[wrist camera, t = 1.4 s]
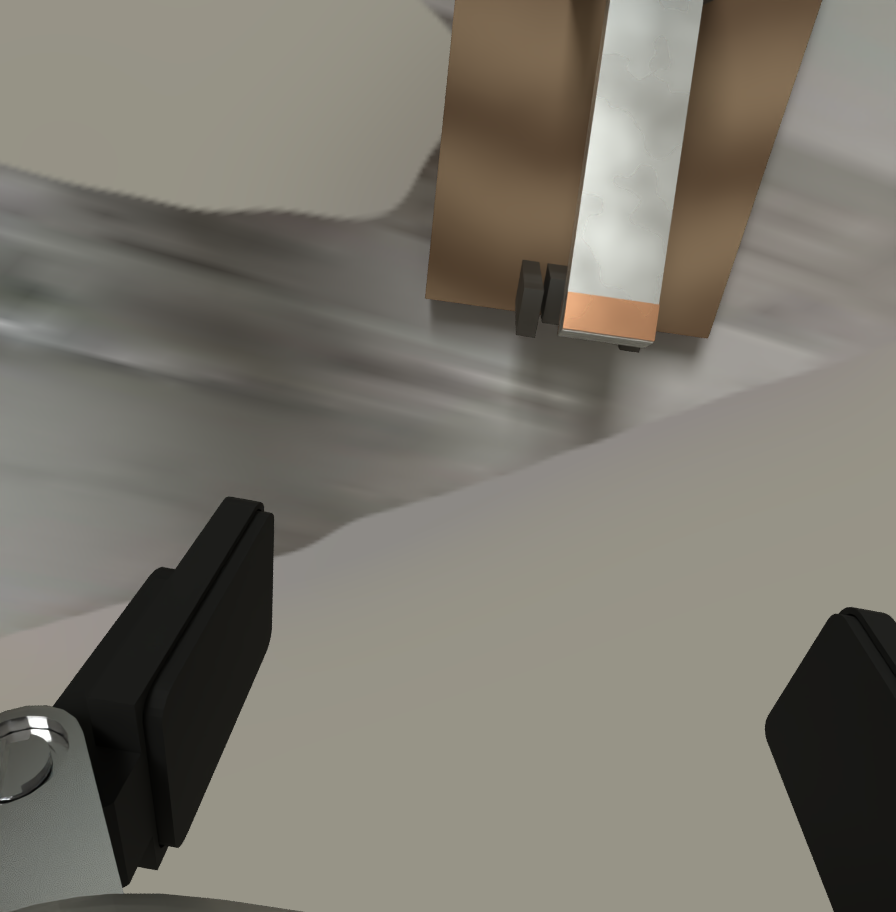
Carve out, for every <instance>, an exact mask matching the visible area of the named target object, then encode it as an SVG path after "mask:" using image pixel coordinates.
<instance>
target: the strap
mask: <svg viewBox="0 0 896 912" xmlns="http://www.w3.org/2000/svg"><path fill="white" fill-rule="evenodd" d="M702 6H703V0H606V6H605V13H604V20H603V27H602V33H601V40H600V47H599V54H598V61H597V68H596V75H595V81H594V88H593V95H592V102H591V109H590V116H589V123H588V129H587V136H586V143H585V150H584V157H583V164H582V171H581V177H580V184H579V191H578V198H577V205H576V212H575V219H574V226H573V232H572V239H571V246H570V253H569V260H568V267H567V274H566V280H565V287H564V294H563V300H562V305H561V312H560V319H559V326H558V333H557V336H562V337H569V338H577V339H584V340H591V341H598V342H605V343H612V344H619V345H626V346H633V347H640V348H645V347H647V346H649V345H651V344H652V343H653V341H654V340H655V334H656V327H657V320H658V313H659V306H660V304H659V300H660V294H661V287H662V280H663V273H664V266H665V259H666V252H667V246H668V239H669V232H670V225H671V218H672V211H673V205H674V198H675V191H676V184H677V177H678V170H679V164H680V157H681V150H682V143H683V136H684V129H685V122H686V116H687V109H688V102H689V95H690V88H691V81H692V75H693V68H694V61H695V54H696V47H697V40H698V34H699V27H700V20H701V13H702Z"/></svg>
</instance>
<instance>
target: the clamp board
mask: <svg viewBox="0 0 896 912" xmlns="http://www.w3.org/2000/svg"><path fill="white" fill-rule="evenodd" d="M821 2H822V0H703V6H702V13H701V20H700V27H699V34H698V40H697V47H696V54H695V61H694V68H693V75H692V81H691V88H690V95H689V102H688V109H687V116H686V122H685V129H684V136H683V143H682V150H681V157H680V164H679V170H678V177H677V184H676V191H675V198H674V205H673V211H672V218H671V225H670V232H669V239H668V246H667V252H666V259H665V266H664V273H663V280H662V287H661V294H660V300H659V304H660V306H659V313H658V320H657V327H656V331H658V332H665V333H672V334H680V335H687V336H694V337H701V338H708V337H709V334H710V331H711V328H712V325H713V322H714V319H715V316H716V313H717V310H718V307H719V304H720V301H721V298H722V295H723V292H724V289H725V287H726V284H727V281H728V278H729V275H730V272H731V269H732V266H733V263H734V260H735V257H736V254H737V251H738V248H739V245H740V242H741V239H742V236H743V233H744V230H745V227H746V224H747V221H748V218H749V215H750V213H751V210H752V207H753V204H754V201H755V198H756V195H757V192H758V189H759V186H760V183H761V180H762V177H763V174H764V171H765V168H766V165H767V162H768V159H769V156H770V153H771V150H772V147H773V144H774V141H775V138H776V136H777V133H778V130H779V127H780V124H781V121H782V118H783V115H784V112H785V109H786V106H787V103H788V100H789V97H790V94H791V91H792V88H793V85H794V82H795V79H796V76H797V73H798V70H799V67H800V64H801V62H802V59H803V56H804V53H805V50H806V47H807V44H808V41H809V38H810V35H811V32H812V29H813V26H814V23H815V20H816V17H817V14H818V11H819V8H820V5H821ZM605 6H606V0H455V7H454V17H453V27H452V37H451V47H450V57H449V67H448V76H447V86H446V96H445V106H444V116H443V126H442V136H441V146H440V156H439V166H438V175H437V185H436V195H435V205H434V215H433V225H432V235H431V245H430V255H429V264H428V274H427V284H426V294H425V298H426V299H433V300H440V301H447V302H454V303H461V304H468V305H475V306H482V307H489V308H496V309H503V310H510V311H515V312H516V335H519V336H526V337H533V338H535V334H536V329H537V324H538V319H539V315H541V318H542V323H549V324H556V325H559V319H560V312H561V305H562V300H563V294H564V287H565V280H566V274H567V267H568V260H569V253H570V246H571V239H572V232H573V226H574V219H575V212H576V205H577V198H578V191H579V184H580V177H581V171H582V164H583V157H584V150H585V143H586V136H587V129H588V123H589V116H590V109H591V102H592V95H593V88H594V81H595V75H596V68H597V61H598V54H599V47H600V40H601V33H602V27H603V20H604V13H605ZM618 346H619V349H620V350H624V351H631V352H638V353H639V350H640V347H633V346H626V345H619V344H618Z"/></svg>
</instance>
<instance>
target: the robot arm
mask: <svg viewBox="0 0 896 912" xmlns="http://www.w3.org/2000/svg"><path fill="white" fill-rule="evenodd" d="M273 551H274V515H273V514H272V513H268V512H264V506H263V503H261V502H257V501H251V500H246V499H240V498H234V497H226V498H225V499H224V500H223V502H222V503H221V505H220V506H219V507H218V509H217V510H216V512H215V513H214V515H213V516H212V517H211V519H210V520H209V522H208V523H207V525H206V526H205V527H204V529H203V530H202V532H201V533H200V535H199V536H198V537H197V539H196V540H195V542H194V543H193V545H192V546H191V547H190V549H189V550H188V552H187V553H186V555H185V556H184V557H183V559H182V560H181V562H180V563H179V565H178V566H177V567H176V569H170V568H165V567H160V568H158V569H156V570H155V571H154V572H153V573H152V574H151V575H150V576H149V577H148V579H147V580H146V581H145V583H144V584H143V586H142V587H141V588H140V590H139V591H138V592H137V594H136V595H135V596H134V598H133V599H132V600H131V602H130V603H129V604H128V606H127V607H126V609H125V610H124V611H123V613H122V614H121V615H120V617H119V618H118V619H117V621H116V622H115V623H114V625H113V626H112V627H111V629H110V630H109V631H108V633H107V634H106V636H105V637H104V638H103V639H102V641H101V642H100V644H99V645H98V646H97V648H96V649H95V650H94V652H93V653H92V654H91V656H90V657H89V658H88V660H87V661H86V662H85V664H84V665H83V666H82V668H81V669H80V670H79V672H78V673H77V674H76V676H75V677H74V679H73V680H72V681H71V683H70V684H69V685H68V687H67V688H66V689H65V691H64V692H63V693H62V695H61V696H60V697H59V699H58V700H57V701H56V703H55V704H54V705H53V707H51V706H47V705H44V706H24V707H20V708H16V709H12V710H7V711H4V712H2V713H0V912H301V911H295V910H288V909H282V908H275V907H268V906H262V905H254V904H248V903H242V902H235V901H228V900H221V899H210V898H200V897H190V896H179V895H169V894H124V893H123V889H122V888H123V887H125V886H127V885H128V884H129V883H130V882H131V879H132V877H133V875H134V873H135V871H136V869H137V867H142V868H147V869H153V870H158V868H159V866H160V864H161V861H162V859H163V857H164V855H165V853H166V851H167V848H168V846H171V847H176V848H179V847H180V846H181V844H182V843H183V841H184V839H185V837H186V835H187V833H188V831H189V829H190V826H191V824H192V822H193V819H194V817H195V815H196V812H197V810H198V808H199V806H200V803H201V801H202V799H203V796H204V793H205V792H206V789H207V787H208V785H209V783H210V780H211V778H212V776H213V773H214V771H215V769H216V766H217V764H218V762H219V759H220V757H221V755H222V753H223V750H224V748H225V746H226V743H227V741H228V739H229V736H230V734H231V732H232V730H233V727H234V725H235V723H236V721H237V718H238V716H239V714H240V711H241V709H242V707H243V704H244V702H245V700H246V698H247V695H248V693H249V690H250V688H251V686H252V683H253V681H254V679H255V677H256V674H257V672H258V670H259V668H260V665H261V663H262V661H263V658H264V656H265V654H266V651H267V649H268V645H269V642H270V638H271V631H272V597H273ZM765 735H766V739H767V742H768V745H769V747H770V750H771V752H772V755H773V757H774V760H775V763H776V765H777V768H778V770H779V773H780V775H781V778H782V780H783V783H784V786H785V788H786V791H787V793H788V796H789V798H790V801H791V803H792V806H793V808H794V811H795V813H796V816H797V819H798V821H799V824H800V826H801V829H802V831H803V834H804V837H805V839H806V842H807V844H808V847H809V849H810V852H811V854H812V857H813V860H814V862H815V864H816V867H817V870H818V872H819V875H820V877H821V880H822V883H823V885H824V888H825V890H826V893H827V895H828V898H829V900H830V903H831V905H832V908H833V911H834V912H896V622H895V621H894V620H893V619H892V618H891V617H890V616H889V615H887V614H885V613H882V612H875V611H870V610H864V609H859V608H853V607H847V608H845V609H843V610H842V611H841V612H840V613H839V614H834V615H832V616H831V617H830V618H829V619H828V620H827V622H826V624H825V625H824V627H823V628H822V630H821V632H820V633H819V635H818V637H817V638H816V640H815V641H814V643H813V644H812V646H811V648H810V649H809V651H808V652H807V654H806V656H805V657H804V659H803V661H802V662H801V664H800V665H799V667H798V669H797V670H796V672H795V673H794V675H793V677H792V678H791V680H790V682H789V683H788V685H787V686H786V688H785V689H784V691H783V693H782V694H781V696H780V697H779V699H778V701H777V702H776V704H775V705H774V707H773V709H772V710H771V712H770V714H769V715H768V717H767V719H766V724H765Z"/></svg>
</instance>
